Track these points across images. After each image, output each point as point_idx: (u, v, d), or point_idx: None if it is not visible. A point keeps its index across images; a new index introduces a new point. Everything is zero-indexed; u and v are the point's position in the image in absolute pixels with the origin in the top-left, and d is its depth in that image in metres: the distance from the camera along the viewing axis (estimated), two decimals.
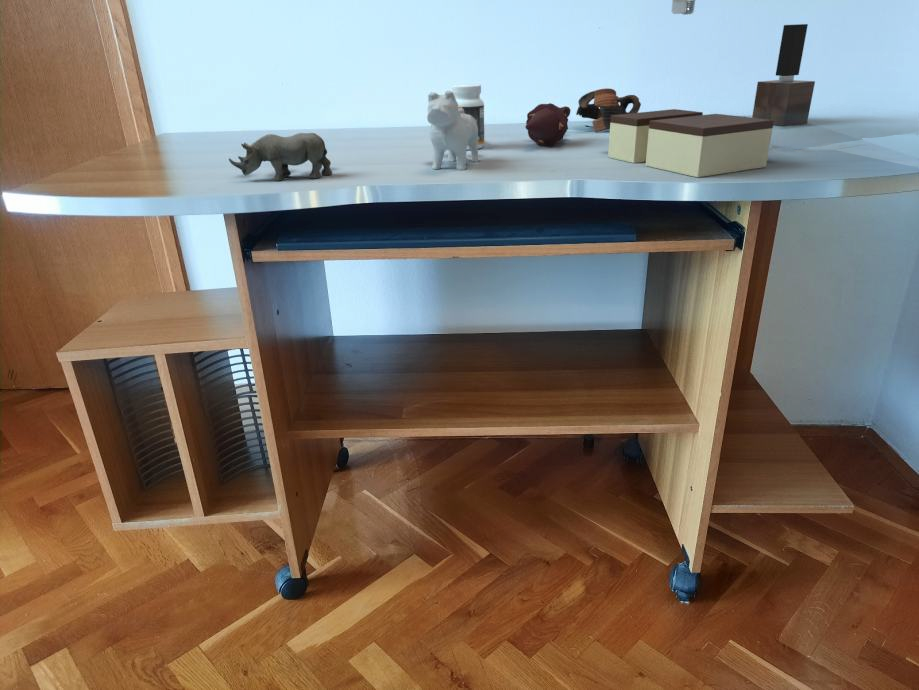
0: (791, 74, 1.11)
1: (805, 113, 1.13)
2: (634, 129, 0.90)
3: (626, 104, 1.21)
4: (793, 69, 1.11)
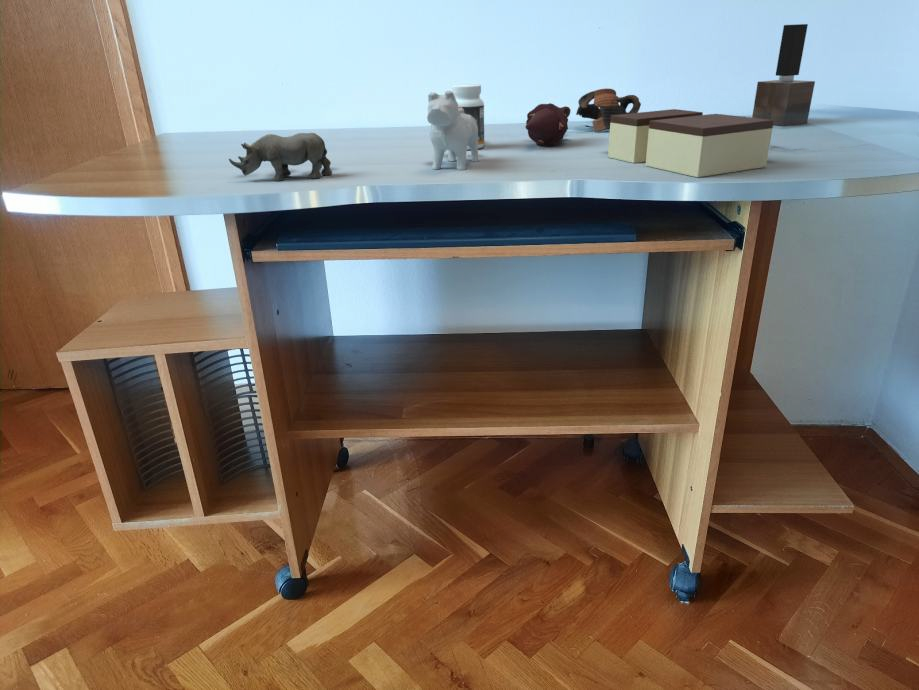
0: (791, 74, 1.11)
1: (805, 113, 1.13)
2: (634, 129, 0.90)
3: (626, 104, 1.21)
4: (793, 69, 1.11)
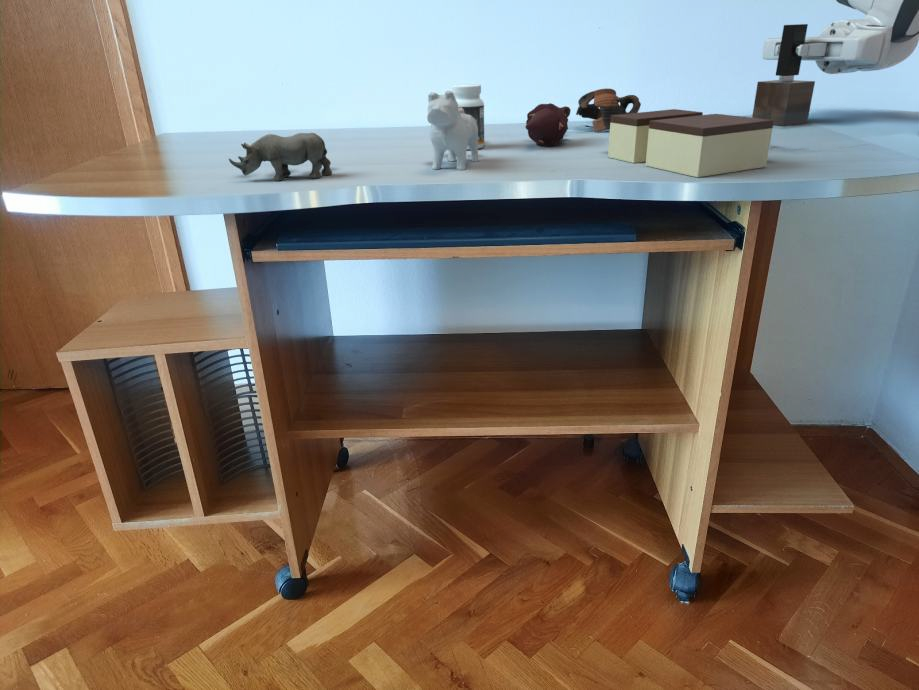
0: (791, 74, 1.11)
1: (805, 113, 1.13)
2: (634, 129, 0.90)
3: (626, 104, 1.21)
4: (793, 69, 1.11)
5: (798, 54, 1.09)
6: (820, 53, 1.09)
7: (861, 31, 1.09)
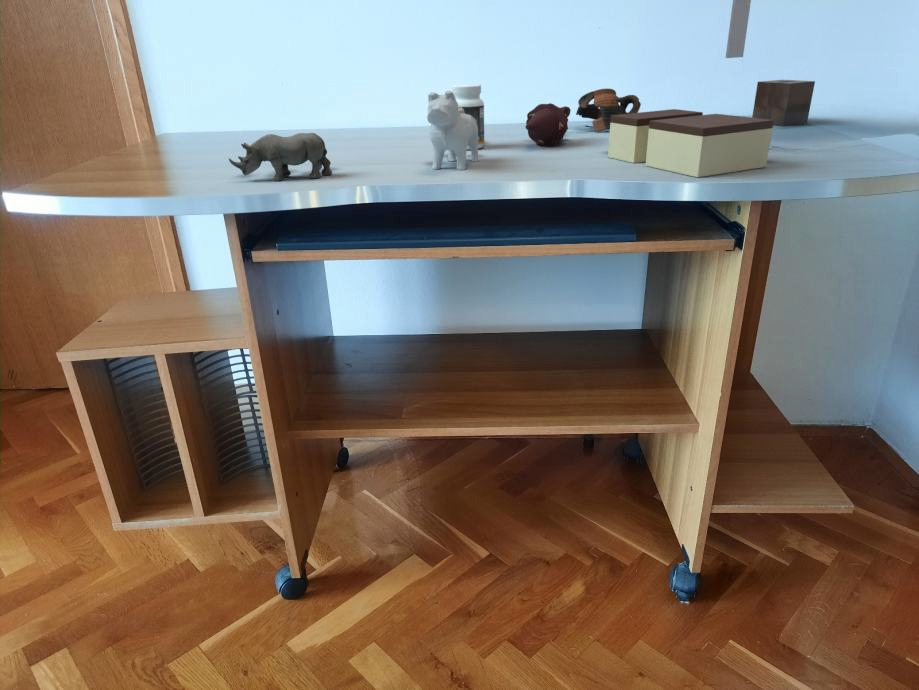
0: None
1: (805, 113, 1.13)
2: (634, 129, 0.90)
3: (626, 104, 1.21)
4: None
5: None
6: None
7: None
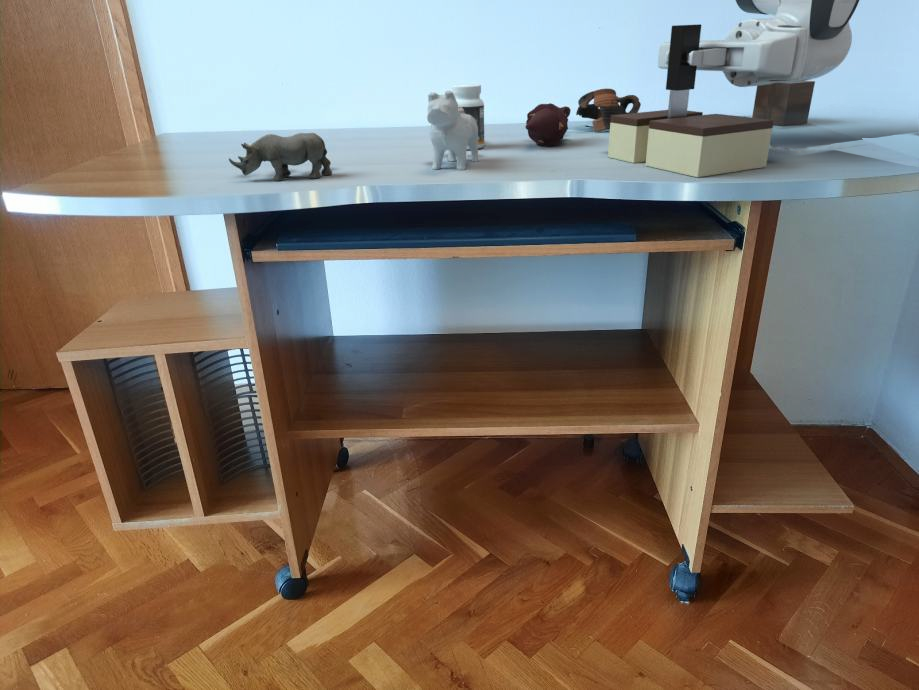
0: (684, 88, 0.87)
1: (805, 113, 1.13)
2: (634, 129, 0.90)
3: (626, 104, 1.21)
4: (686, 82, 0.87)
5: (689, 63, 0.85)
6: (718, 62, 0.85)
7: (771, 33, 0.85)
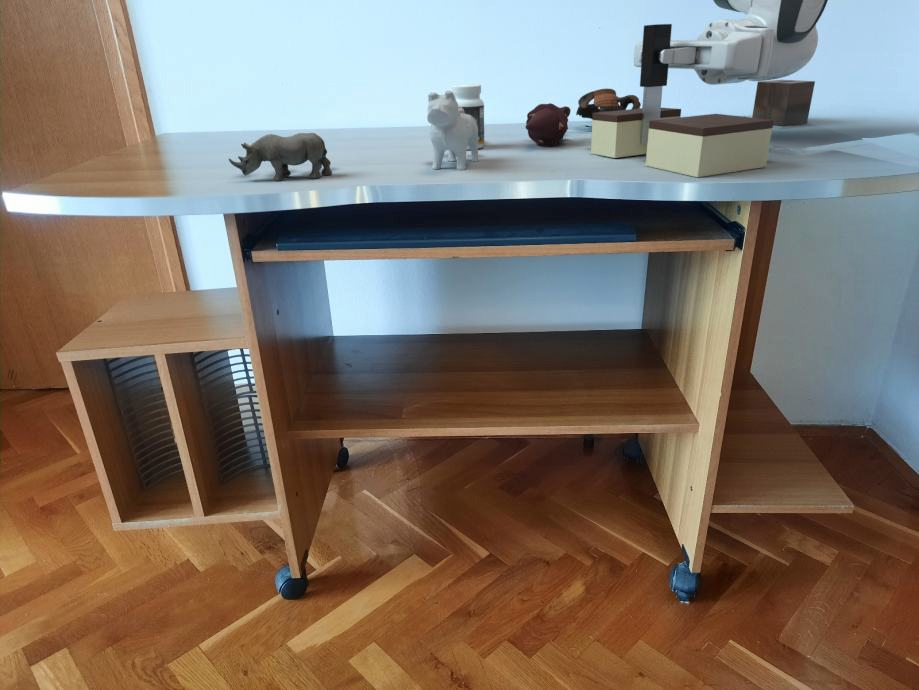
0: (657, 85, 0.92)
1: (805, 113, 1.13)
2: (615, 125, 0.93)
3: (626, 104, 1.21)
4: (658, 79, 0.91)
5: (661, 61, 0.89)
6: (688, 60, 0.89)
7: (738, 33, 0.90)
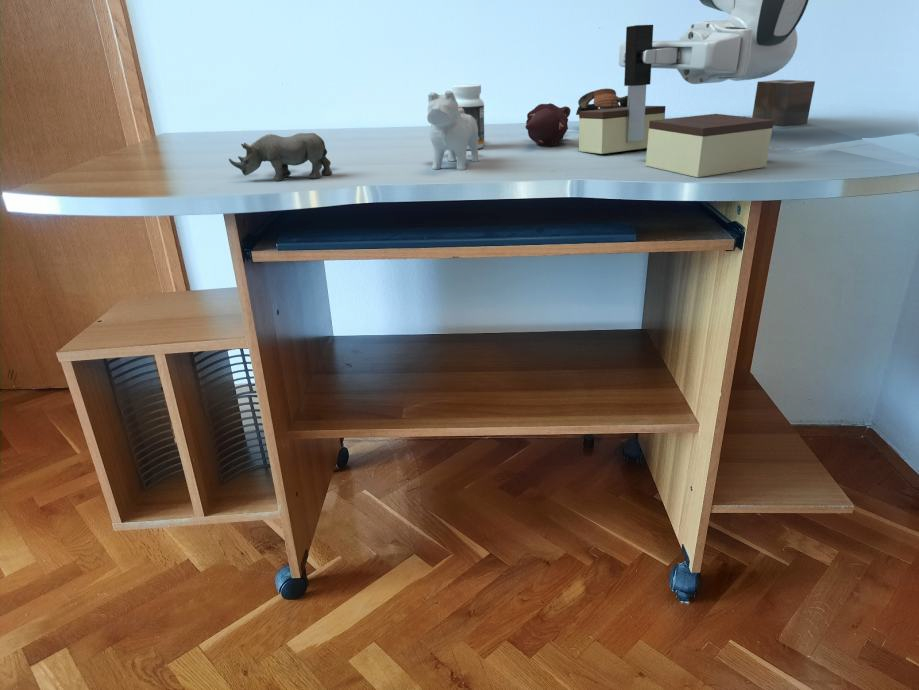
0: (640, 83, 0.94)
1: (805, 113, 1.13)
2: (601, 122, 0.96)
3: (626, 104, 1.21)
4: (642, 77, 0.94)
5: (644, 61, 0.92)
6: (670, 60, 0.92)
7: (718, 34, 0.93)
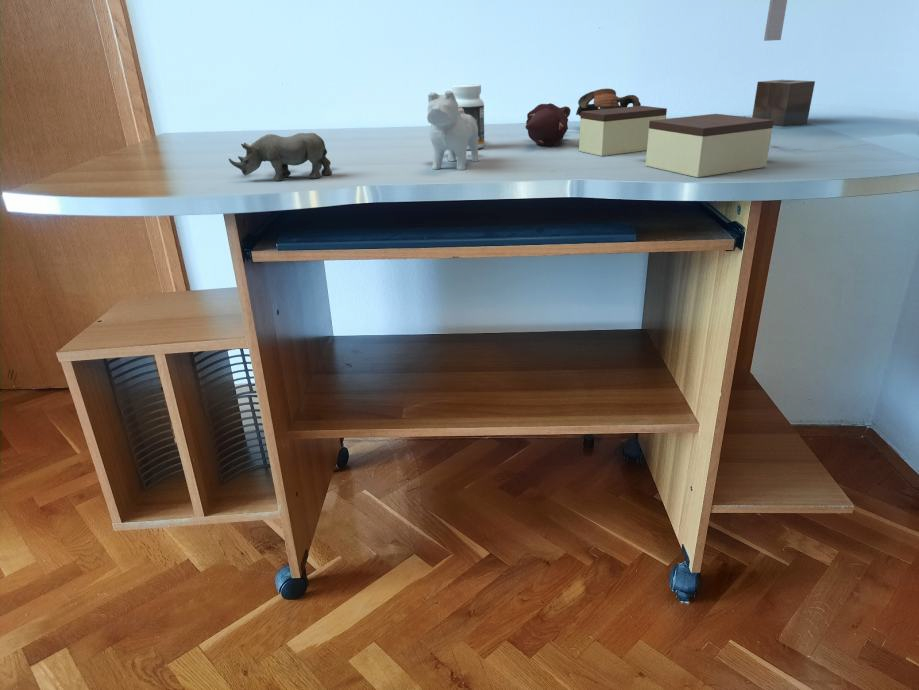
0: None
1: (805, 113, 1.13)
2: (602, 124, 0.96)
3: (626, 104, 1.21)
4: None
5: None
6: None
7: None
